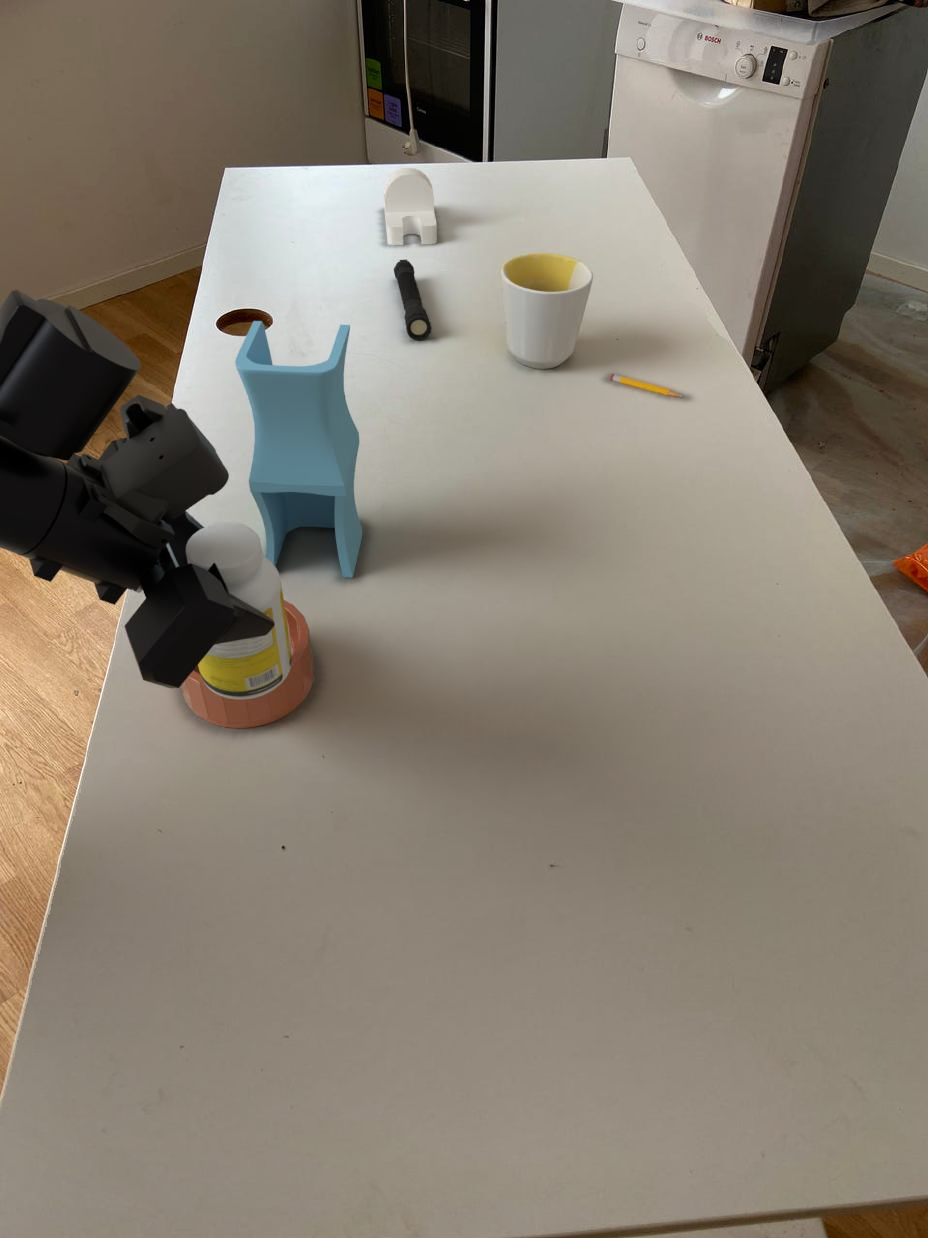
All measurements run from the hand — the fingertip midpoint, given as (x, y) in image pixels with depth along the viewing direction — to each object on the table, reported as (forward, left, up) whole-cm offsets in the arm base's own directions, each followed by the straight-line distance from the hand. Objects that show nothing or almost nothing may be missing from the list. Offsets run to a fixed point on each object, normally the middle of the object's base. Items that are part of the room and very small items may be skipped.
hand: (254, 596), depth 65 cm
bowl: (-1, +5, -12) cm, 13 cm away
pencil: (+50, +34, -13) cm, 62 cm away
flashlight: (+31, +61, -13) cm, 69 cm away
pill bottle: (-1, 0, -7) cm, 7 cm away
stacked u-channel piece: (+8, +19, -13) cm, 24 cm away
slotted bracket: (+39, +86, -12) cm, 95 cm away
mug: (+42, +46, -13) cm, 63 cm away
